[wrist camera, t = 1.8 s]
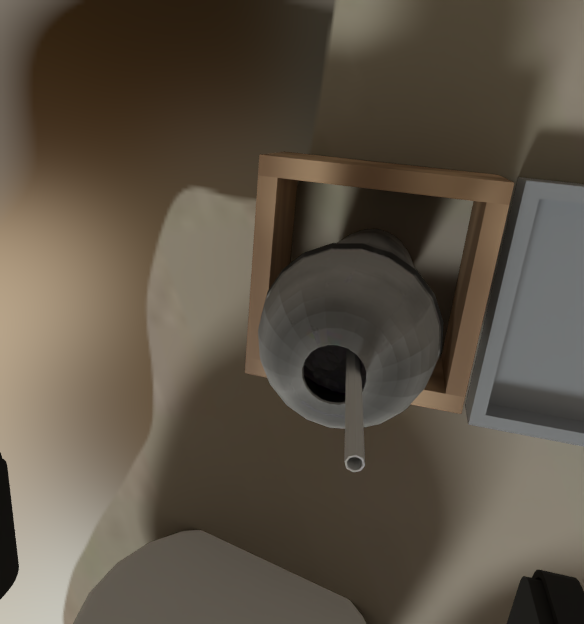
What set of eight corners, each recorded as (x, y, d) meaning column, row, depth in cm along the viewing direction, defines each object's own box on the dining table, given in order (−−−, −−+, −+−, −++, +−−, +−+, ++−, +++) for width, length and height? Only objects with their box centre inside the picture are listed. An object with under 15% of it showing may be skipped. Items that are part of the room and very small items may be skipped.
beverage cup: (320, 196, 31) (174, 289, 12) (446, 214, 30) (494, 346, 11) (305, 312, 33) (166, 533, 15) (421, 333, 32) (427, 603, 14)
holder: (498, 174, 28) (514, 182, 24) (454, 374, 32) (461, 414, 28) (283, 151, 30) (259, 154, 26) (267, 341, 35) (244, 373, 30)
